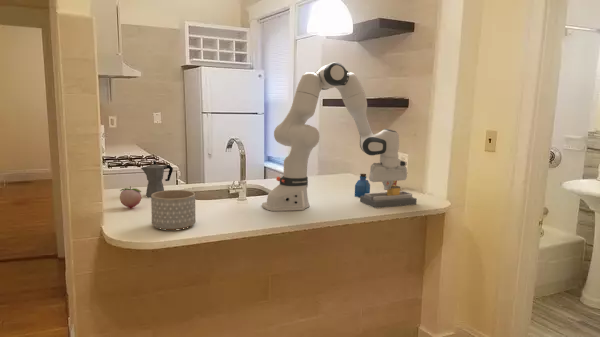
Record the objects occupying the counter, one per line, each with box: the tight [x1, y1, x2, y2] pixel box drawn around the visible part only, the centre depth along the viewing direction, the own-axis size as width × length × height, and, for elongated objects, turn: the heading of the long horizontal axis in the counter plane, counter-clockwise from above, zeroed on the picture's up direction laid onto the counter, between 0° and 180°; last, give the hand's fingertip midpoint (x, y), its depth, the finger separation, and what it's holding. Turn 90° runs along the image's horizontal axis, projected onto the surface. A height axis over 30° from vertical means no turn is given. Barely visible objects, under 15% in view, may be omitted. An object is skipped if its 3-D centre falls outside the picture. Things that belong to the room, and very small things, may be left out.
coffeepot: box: [140, 160, 174, 198], centre depth 224 cm, size 15×9×18 cm, turn 116°
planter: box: [150, 189, 197, 231], centre depth 173 cm, size 16×16×13 cm
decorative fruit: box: [119, 185, 142, 209], centre depth 198 cm, size 9×8×10 cm
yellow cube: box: [386, 184, 401, 196], centre depth 223 cm, size 4×5×5 cm
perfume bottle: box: [354, 173, 371, 198], centre depth 236 cm, size 6×6×12 cm
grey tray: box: [359, 190, 417, 209], centre depth 222 cm, size 24×14×5 cm, turn 114°
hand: (387, 189), depth 221 cm, fingers closed
